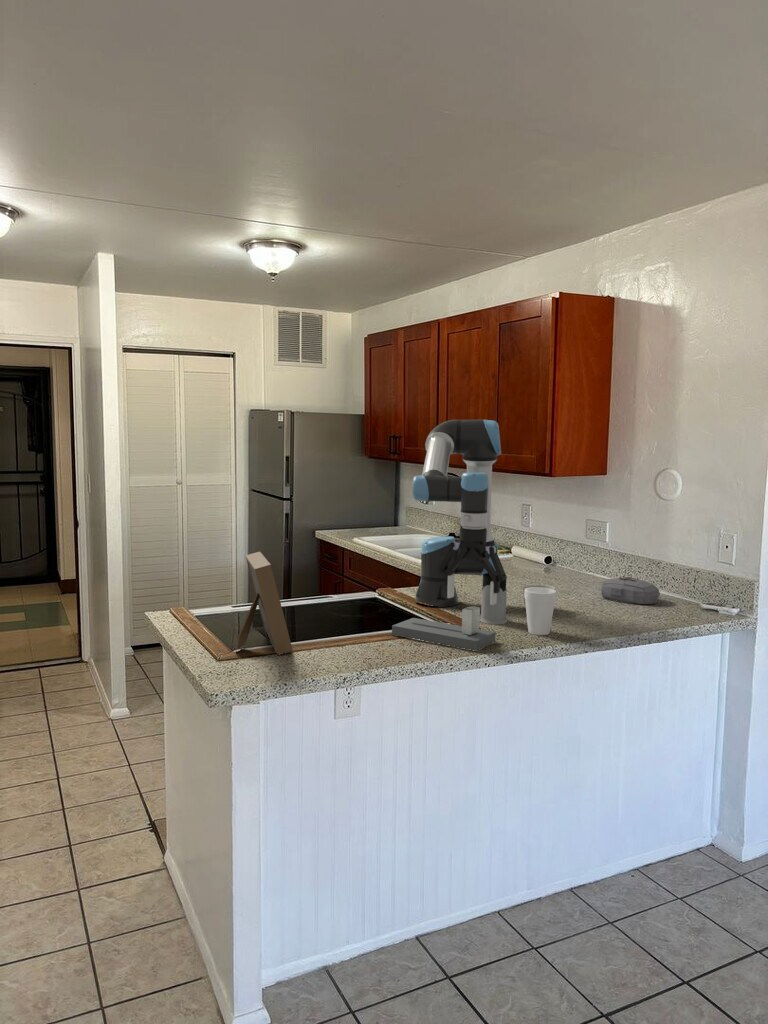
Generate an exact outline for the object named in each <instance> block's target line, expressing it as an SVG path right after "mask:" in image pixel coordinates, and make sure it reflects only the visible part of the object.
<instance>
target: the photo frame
mask: <svg viewBox="0 0 768 1024" xmlns="http://www.w3.org/2000/svg"><path fill="white" fill-rule="evenodd" d="M244 557H245V559H246V564H247V567H248V570H249V575H250V578H251V582H252V586H253V590H254V593H255V597H254V599H253V601H252V604H251V605H250V608H249V611H248V613H247V615H246V617H245V619H244V622H243V623H242V626H241V628H240V631H239V633H238V635H237V638H236V647H235V650H236V649H238V648H240V647H242V646H244V645H245V646H246V643H247V642H248V641H247V640H248V637H249V633H250V631H251V626H252V624H253V621H254V617H255V614H256V611H257V608H258V610H259V613H260V616H261V620H262V624H263V629H264V632H265V633H266V632H267V634H268V637H269V639H270V641H271V643H272V645H273V647H274V649H275V651H276V652H275V651H274V652H275V654H276V653H277V654H279V653H285V654H289V653H291V652H293V651H294V650H293V646H292V642H291V639H290V635H289V629H288V626H287V622H286V619H285V618H286V617H285V615H284V611H283V608H282V607H283V606H282V603H281V600H280V596H279V591H278V588H277V584H276V580H275V576H274V572H273V568H272V563H270V562H269V561H268V559H267V558H266V557H265V556H264V554H263V553H262V552H261V551H257V552H256V551H255V552H254V553H249V554H246V555H244ZM268 637H267V638H268ZM269 639H268V640H269ZM270 641H269V642H270ZM271 643H270V644H271ZM272 645H271V646H272ZM273 647H272V648H273ZM274 649H273V650H274ZM277 654H276V655H277Z"/></svg>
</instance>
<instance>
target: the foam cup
mask: <svg viewBox="0 0 768 1024" xmlns="http://www.w3.org/2000/svg"><path fill="white" fill-rule="evenodd" d="M524 597H525V603H526V606H525V610H526V612H525V613H526V623H527V630H528V633H529V634H532V635H536V636H546V635H549V634H550V632H551V628H552V627H551V626H552V620H553V615H554V608H555V603H556V600H557V591H556V589H555V590H553V589H550V588H541V587H531V588H526V589H525V591H524V590H523V598H524ZM525 603H524V604H525Z"/></svg>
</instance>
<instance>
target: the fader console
mask: <svg viewBox="0 0 768 1024" xmlns="http://www.w3.org/2000/svg"><path fill="white" fill-rule="evenodd" d="M496 632H497V631H491V630H487V629H480V628H479V632H477V633H474V634H472V635H469V634H463V633H462V625H457V624H451V623H446V622H440V621H435V620H428V619H424V618H423V619H421V618H416V617H411V618H409V619H406V620H404V621H401V622H398V623H396V624H393V625H391V635H392V634H393V635H397V636H403V637H410V638H415V639H420V640H424V641H429V642H434V643H440V644H444V645H450V646H455V647H459V648H458V649H460V648H465V649H471V650H479V649H481V648H483V647H485V646H487V645H489V646H491V645H492V643H493V642H494V643H496ZM397 636H396V637H397ZM434 643H433V644H434ZM494 643H493V644H494ZM490 644H491V645H490ZM444 645H443V646H444ZM455 647H454V648H455ZM487 647H488V646H487ZM485 648H486V647H485ZM465 649H464V650H465ZM483 649H484V648H483ZM481 650H482V649H481ZM479 651H480V650H479Z"/></svg>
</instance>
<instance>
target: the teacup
mask: <svg viewBox="0 0 768 1024" xmlns="http://www.w3.org/2000/svg"><path fill="white" fill-rule="evenodd" d="M531 587H541V588H550V589H553V590H555V591H556V587H555V586H552V585H546V584H537V583H535V584H529V585H526V586H524V587H523V588H522V589H523V592H524V591H525V589H526V588H531ZM523 602H524V606H525V607H526V603H525V597H524V596H523Z"/></svg>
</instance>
